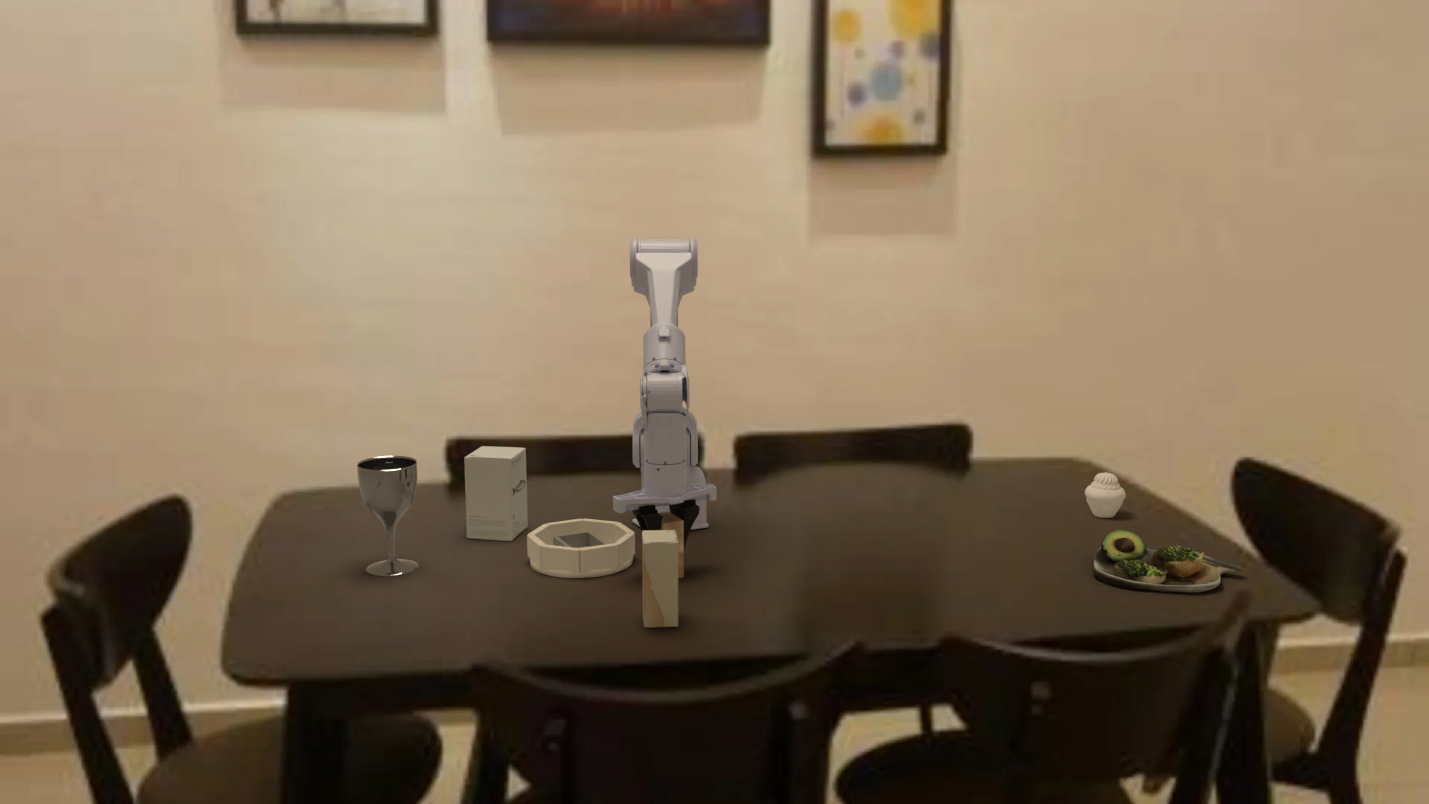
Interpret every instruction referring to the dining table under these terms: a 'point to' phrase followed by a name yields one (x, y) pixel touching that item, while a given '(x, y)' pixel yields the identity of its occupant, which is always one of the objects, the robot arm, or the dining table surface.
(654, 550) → the box
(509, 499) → the supplement box
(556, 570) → the octagonal cream tray
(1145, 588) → the salad plate
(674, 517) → the tan wooden block
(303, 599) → the dining table surface
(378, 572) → the wine glass
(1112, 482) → the muffin
